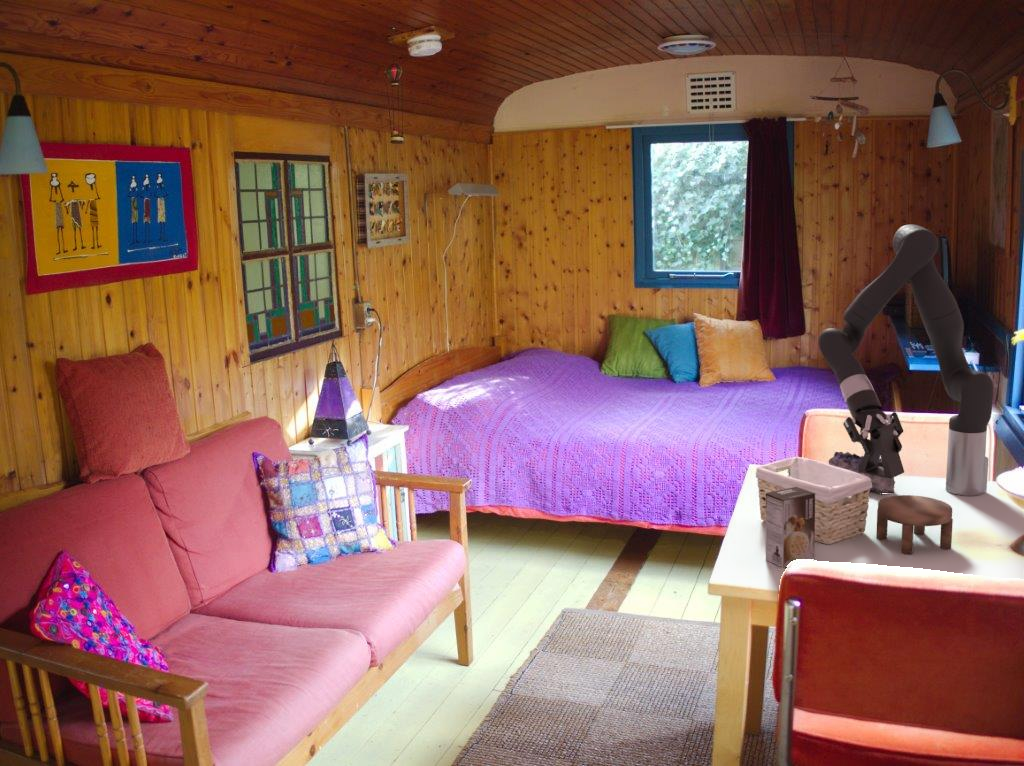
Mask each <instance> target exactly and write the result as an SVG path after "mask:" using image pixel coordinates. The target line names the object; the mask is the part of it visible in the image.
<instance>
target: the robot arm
mask: <svg viewBox="0 0 1024 766" xmlns="http://www.w3.org/2000/svg"><path fill="white" fill-rule="evenodd" d="M938 241H939V240H938V238H937V236H936V234H934V232H932V231H931V230H929V229H928V228H925V227H923V226H921V225H918V224H911V223H910V224H905V225H902V226H900V227H899V228H898V229H897V231H896V232H895V234H894V236H893V239H892V249H893V251H894V253H895V257H894V258H893V260H892V261H891V263H890V264H889V265H888V266H887V267H886V269H884V271H883V272H882V273H881V274H880V275H879V276H878V277H876V278H875V279H874V280H873V281H872V282H871V283H869V284H868V285H867V286H866V287H864V288H863V289H862V290H861V291H860V292H859V294H857V295H856V297H855V299H854V300H853V301H852V302H851V303H850V305H849V306H848V307H847V308H846V310H845V311H844V313H843V315H842V317H843V318H842V319H843V321H844V322H845V323H844V326H843V327H842V329H841V330H840V329H837V328H836V327H835V328H834V327H830V328H826V329H824V330H823V331H822V332H821V333H820V334H819V337H818V340H817V341H818V342H817V343H818V349H819V351H820V353H821V355H822V357H823V358H824V359H825V361H826V362H827V364H828V366H829V367H830V368H831V370H832V371H833V373H834V376H835V378H836V381H837V383H838V385H839V388H840V391H841V394H842V397H843V399H844V402H845V403H846V406H847V408H848V411H849V413H850V415H851V417H849V416H848V417H846V419H845V420H844V422H843V427H844V429H845V430H846V432H847V434H848V436H849V438H850V440H851V442H853V443H856V442H857V443H859V444H860V445H861V446H862V449H863V453H864V454H865V453H866V454H868V456H872V455H873V454H874V449H873V447H872V445H871V442H870V438H869V434H870V431H871V429H873V428H875V427H877V426H880V425H883V424H885V423H887V424H886V425H888V424H892V425H893V427H894V440H895V445H896V451H897V452H898V453H899V454H900V452H901V451H902V448H903V445H902V443H901V441H900V436H901V435H902V434H903V433H904V429H903V426H902V423H901V421H900V419H899V418H900V417H899V416H898V413H897V412H895V411H893V412H892V413H889V414H887V413H885V412H884V410H883V409H882V405H881V401H880V400H879V398H878V395H877V393H876V391H875V389H874V386H873V385H872V383H871V381H870V379H869V378H868V376H867V374H866V372H865V369H864V368H863V365H862V363H861V362H860V361H859V359H858V358H856V357H855V356H854V354H855V352H857V350H858V348H859V346H860V345H861V343H862V341H863V339H864V336H865V334H866V331H867V329H868V328H869V326H871V324H872V323H873V322H874V320H875V319H876V318H877V317H878V315H879V314H880V313H881V312H882V310H883V309H884V308H885V307H886V305H887V304H888V303H889V302H890V301H891V300H892V298H893V297H894V296H895V295H896V294H897V293H898V292H899V290H901V288H902V287H903V286H904V285H905V284H906V283H907V282H908V281H909V284H910V288H911V290H912V294H913V298H914V301H915V304H916V307H917V309H918V313H919V315H920V318H921V322H922V324H923V327H924V329H925V332H926V335H927V336H928V338H929V341H930V344H931V347H932V349H933V352H934V354H935V357H936V359H937V360H936V361H937V363H938V366H939V371H940V375H941V380H942V382H943V386H944V390H945V391H946V392H945V393H947V395H948V397H950V398H951V399H952V400H954V401H955V402H958V403H959V410H958V414H956V415H953V416H951V417H950V418H949V420H948V439H947V457H946V475H945V476H946V478H945V490H946V491H947V492H949V493H950V494H954V495H960V496H969V497H970V496H979V495H981V494H983V493H987V492H988V491H987V490H988V488H987V487H988V476H989V475H988V472H989V457H987V456H986V449H987V448H986V446H987V433H988V432H987V431H988V425H989V423H990V420H991V418H992V412H993V411H992V410H993V403H994V394H995V392H994V391H995V387H994V381H993V380H992V378H991V376H989V374H987V373H986V372H982V371H979V370H975V369H972V368H971V367H970V364H969V363H968V360H967V358H966V356H965V355H966V354H965V353H964V349H963V337H964V327H965V326H964V320H963V316H962V313H961V310H960V307H959V305H958V302H957V301H956V299H955V296H954V294H953V293H952V291H951V290H950V288H949V286H948V285H947V283H946V282H945V280H944V279H943V277H942V276H941V274H940V273H939V271H938V268H937V266H936V263H935V261H934V256H935V255H936V253H937V251H938V248H939V242H938ZM857 427H859V428H860V430H858V428H857ZM868 438H869V439H868Z"/></svg>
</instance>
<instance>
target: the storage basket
mask: <svg viewBox="0 0 1024 766" xmlns="http://www.w3.org/2000/svg"><path fill="white" fill-rule="evenodd" d="M783 471H787V473H788V475H785V474H782V473H779V472H783ZM755 478H757V487H758V498H759V504H758V505H759V511H760V519H761V520H762V521H763V522H765V523H766V493H769V492H774V491H778V490H783V489H788V488H793V487H798V488H801V489H804V490H807V491H810V492H813V493H815V541H816V542H818V543H822V544H824V545H832V544H834V543H838V542H840V541H844V540H847V539H851V538H853V537H857V536H859V535H861V534H863V533H864V532H865V531H866V525H867V520H866V519H867V518H868V510H869V506H870V504H869V501H870V500H869V498H870V491H871V490H870V488H872V483H871V479H870V478H869V477H867V476H865V475H862V474H859V473H856V472H853V471H850V470H847V469H843V468H839V467H836V466H832V465H829V463H827V462H822V461H819V460H815V459H811V458H807V457H801V456H794V457H789V458H784V459H781V460H780V459H779V460H777V461H774V462H769V463H766V464H763V465H760V466H757V467H756V472H755Z"/></svg>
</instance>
